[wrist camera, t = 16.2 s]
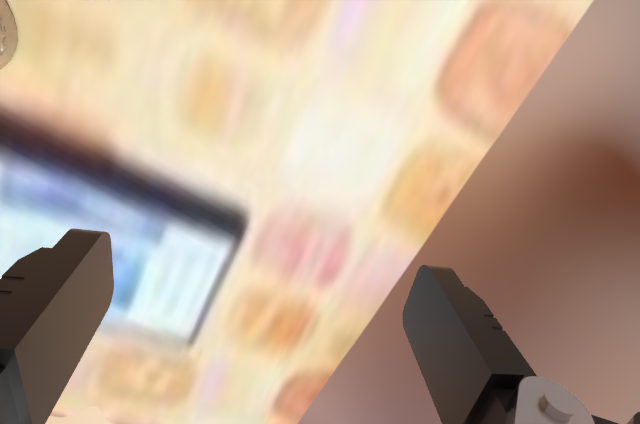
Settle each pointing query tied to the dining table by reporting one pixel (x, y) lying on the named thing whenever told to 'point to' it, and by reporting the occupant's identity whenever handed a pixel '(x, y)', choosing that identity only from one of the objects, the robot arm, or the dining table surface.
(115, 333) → the dining table surface
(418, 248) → the dining table surface
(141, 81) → the dining table surface
